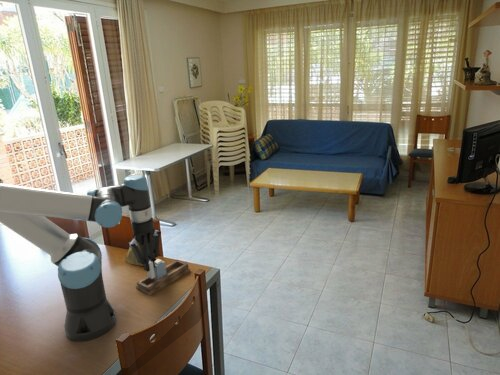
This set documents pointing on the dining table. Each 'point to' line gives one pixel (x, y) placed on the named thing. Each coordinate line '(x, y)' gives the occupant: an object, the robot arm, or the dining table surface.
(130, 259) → the rock
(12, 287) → the dining table surface
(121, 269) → the dining table surface
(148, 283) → the wooden tray
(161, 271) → the rider
